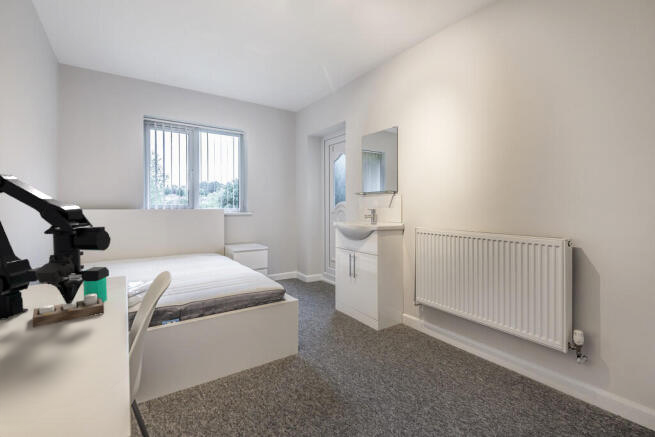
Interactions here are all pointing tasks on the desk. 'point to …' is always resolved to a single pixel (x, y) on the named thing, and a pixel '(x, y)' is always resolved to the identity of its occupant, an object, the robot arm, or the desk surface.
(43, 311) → the button near
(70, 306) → the button middle
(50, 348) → the desk surface
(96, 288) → the candle
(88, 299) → the button far
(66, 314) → the button board
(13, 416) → the desk surface
